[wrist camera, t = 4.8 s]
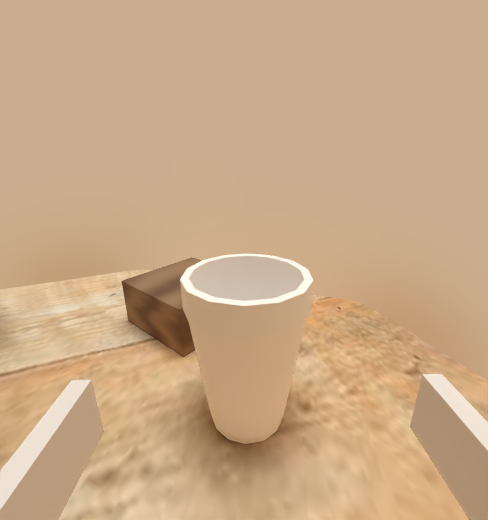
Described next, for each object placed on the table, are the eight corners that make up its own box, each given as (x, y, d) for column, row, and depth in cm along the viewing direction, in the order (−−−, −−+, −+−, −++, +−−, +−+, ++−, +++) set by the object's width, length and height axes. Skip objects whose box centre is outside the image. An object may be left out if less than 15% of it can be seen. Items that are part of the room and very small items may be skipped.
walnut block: (128, 320, 39) (121, 280, 37) (194, 290, 47) (192, 257, 45) (183, 356, 31) (179, 309, 29) (250, 313, 40) (249, 275, 38)
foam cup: (324, 435, 22) (342, 288, 18) (213, 487, 19) (202, 319, 15) (268, 362, 31) (271, 248, 26) (183, 388, 27) (170, 262, 23)
